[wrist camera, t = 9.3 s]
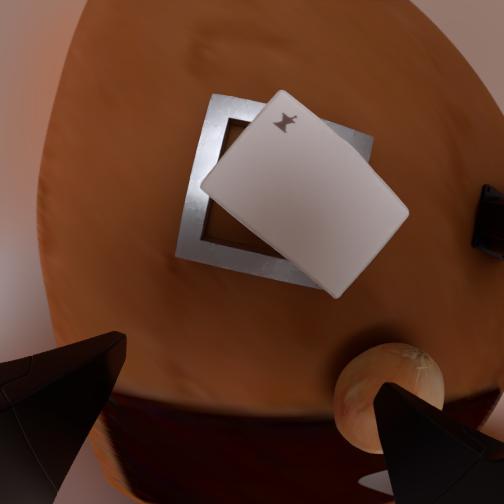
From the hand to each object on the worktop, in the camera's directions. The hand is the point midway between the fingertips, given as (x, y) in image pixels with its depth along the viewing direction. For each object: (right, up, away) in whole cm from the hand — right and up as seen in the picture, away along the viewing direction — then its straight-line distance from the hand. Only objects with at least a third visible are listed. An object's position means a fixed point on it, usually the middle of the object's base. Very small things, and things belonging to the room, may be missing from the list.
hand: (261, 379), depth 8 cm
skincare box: (+2, +8, +12) cm, 15 cm away
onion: (+11, -7, +15) cm, 20 cm away
